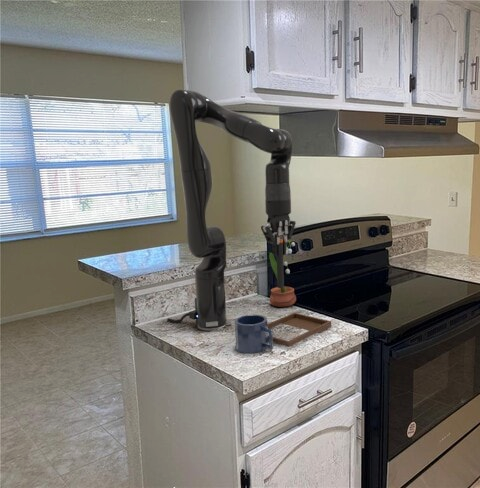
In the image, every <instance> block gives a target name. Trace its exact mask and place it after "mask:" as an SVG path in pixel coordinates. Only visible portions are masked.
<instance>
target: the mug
mask: <svg viewBox="0 0 480 488" xmlns="http://www.w3.org/2000/svg"><path fill="white" fill-rule="evenodd" d="M267 324H268V318H267V316H265V315H262V314H254V313H253V314H245V315H241V316H239V317H236V318H235V319H234V334H235V350H236V351H237V352H239V353H242V354H246V355H247V354H249V355H251V354H253V355H254V354H258V353H262V352H264V351H266V350H267V349H268V350H273V349H274V343H273V337H274V330H273V329H272V328H270V329H269V328H267ZM268 335H269V341H268Z"/></svg>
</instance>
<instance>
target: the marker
mask: <svg viewBox="0 0 480 488" xmlns="http://www.w3.org/2000/svg"><path fill="white" fill-rule="evenodd" d="M279 244H280V256H278V257H277V256H276V263H277V278H276V280H277V281H276V282H277V283H276V287H278V288H284V287H285V276H284V275H285V274H284V273H285V272H284V264H283V263H284V258H283V257H284V255H283V239H281V238H280V243H279Z"/></svg>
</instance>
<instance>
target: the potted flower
mask: <svg viewBox="0 0 480 488" xmlns="http://www.w3.org/2000/svg"><path fill="white" fill-rule="evenodd" d="M286 243H288V244H289V247H288V244H286V254H285V255H288V254H289V255H290V254H292V252H293V250H292V248H291V247H295V246H296V243H295V242H294V241H292V240H287V242H286ZM268 257H269V262H270V267H271V269H272V271H273V274H274V276H275V278H276V279H277V259H276V258H275V256H274V255H273V252H269V256H268ZM283 259H284V260H285V261H283V266H285V267H287V268H286V269H285V274H287V275H289V274H291V273H290V272H291V271H290V269H289V267H288V261H287V259H286V257H284V256H283ZM268 301H269V303H270V304H271V305H272V306H274V307H279V308H286V307H290V306H293V305H294V304H296V302H297V295H296V294H295V289H294V287H291V286H284V288H278V287H277V286H276V287H273V288H271V289H270V296H269V300H268Z"/></svg>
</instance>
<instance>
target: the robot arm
mask: <svg viewBox="0 0 480 488" xmlns="http://www.w3.org/2000/svg"><path fill="white" fill-rule="evenodd" d="M169 97H170V98H169V104H168V105H169V112H170V118H171V123H172V126H173V131H174V136H175V139H176V145H177V146H176V147H177V153H178V159H179V166H180V177H181V183H182V189H183V190H182V191H183V197H184V198H183V199H184V207H185V219H186V220H185V223H186V225H185V226H186V243H187V247H188V251H189V252H190V253H191V255H192V256H193V257H195V258H197V259H202V260H201V261H200V263H199V264H198V265H197V266H196V267H195V268H194V280H195V281H194V282H195V284H194V285H195V298H194V309H193V310H191V311H188V312H187V313H185V314H183V315H182V316H181V317H180V318H179V319H173V318H167V319H166V321H167V322H171V323H175V324H177V323H181V322H183V320H184V319H185V318H186V317H188V318H189V319H191V320H194V321H195V327H197V328H198V330H200V331H206V332H213V331H214V330H219V329H222V328H225V327H227V326H228V322H227V303H226V286H225V270H226V266H227V240H226V235H225V233H224V231H223V230H222V229H221V228H220V227H219V226H216V225H208V226H207V218H206V217H207V216H206V215H207V214H206V213H207V207H208V203H209V200H210V198H211V194H212V191H213V187H214V186H213V184H214V181H213V173H212V165H211V162H210V159H209V157H208V154H207V153H206V151H205V150H204V147H203V146H202V145H201V143H200V140H199V137H198V133H197V128H196V123H197V122H198V123H202V124H203V123H204V124H208V125H212V126H215V127H217V128H219V129H221V130H222V131H224V132H225V133H227V134H228V135H230V136H231V137H233V138H236V139H238V140H240V141H243V142H245V143H247V144H250V145H252V146H254V147H255V148H257V149H258V150H259V151H263V152H265V153H267V154H270V161H268V163H267V164H266V165H265V167H264V174H265V175H264V176H265V187H264V201H265V203H264V205H265V214H266V215H267V220H266V223H265V224H264V225H261V226H260V230H261V232H262V234H263V237H264V239H265V240H266V242H267V243H269V244H271V245H272V254H273V256H274V257H276V258H277V257H278V256H280V244H279V243H280V238H281V239H283V256H285V255H287V254H286V247H287V246H286V245H287V243H288V242H287V240H288V241H291V239H292V236H293V234H294V230H295V227H296V223H297V222H296V221H295V220H291V218H290V214H291V213H292V194H291V193H292V192H291V184H290V165H291V160H292V154H293V149H294V148H293V139H292V135H291V133H289V131H287V130H286V129H283V128H273V127H270V126H266V125H264V124H263V123H262V122H261V121H260V120H257V119H255V118H252V117H250V116H247V115H244V114H241V113H239V112H236V111H234V110H231V109H228V108H226V107H224V106H222V105H220V104H218V103H217V102H215V101H213V100H211V98H208V97H207V96H205V95H204V94H202V93H200V92H198V91H195V90H188V89H176V90H174V91H173V92H172V94H171V95H170V96H169Z"/></svg>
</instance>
